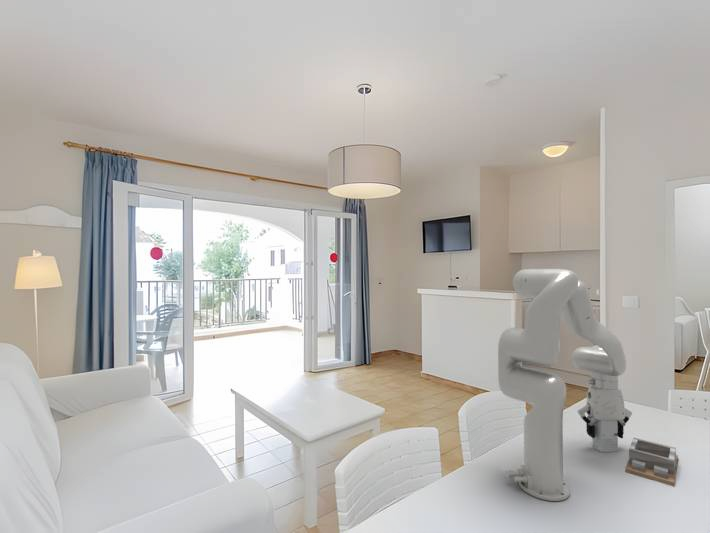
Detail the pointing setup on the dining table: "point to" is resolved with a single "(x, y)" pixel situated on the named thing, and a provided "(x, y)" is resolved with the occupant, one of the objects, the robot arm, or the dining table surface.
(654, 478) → the socket board
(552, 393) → the robot arm
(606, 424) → the skincare box
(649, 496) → the dining table surface
